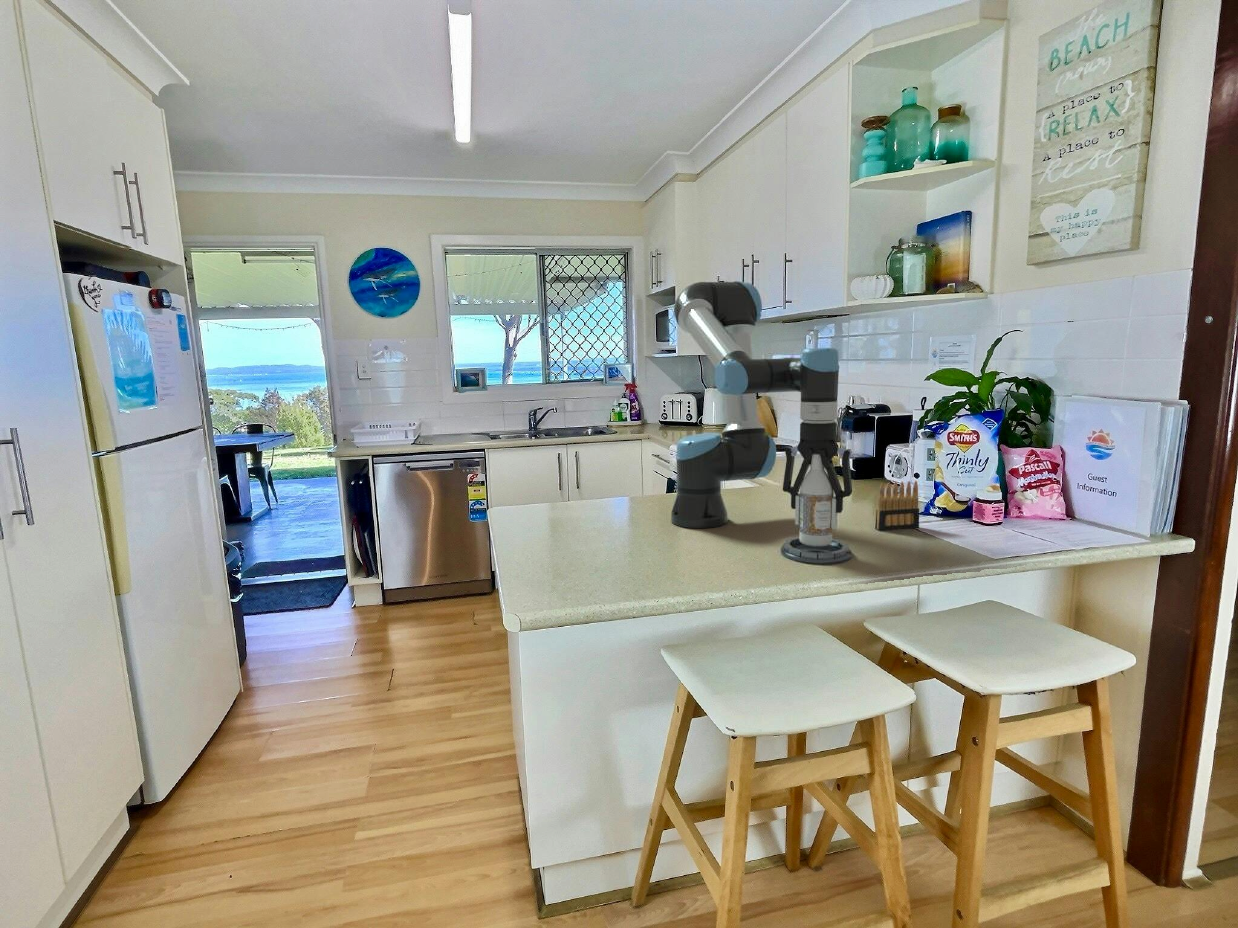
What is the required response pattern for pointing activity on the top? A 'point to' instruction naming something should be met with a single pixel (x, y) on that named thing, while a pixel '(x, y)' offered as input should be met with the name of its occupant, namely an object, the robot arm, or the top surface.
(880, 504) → the ammunition clip
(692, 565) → the top surface
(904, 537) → the top surface
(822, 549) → the ring tray
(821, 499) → the bath foam
